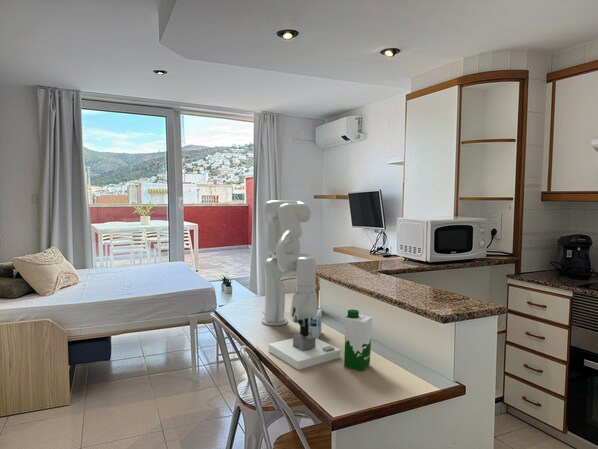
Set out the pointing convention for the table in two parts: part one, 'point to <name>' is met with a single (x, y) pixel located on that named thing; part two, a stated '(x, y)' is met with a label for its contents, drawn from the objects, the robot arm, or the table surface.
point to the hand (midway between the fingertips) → (304, 335)
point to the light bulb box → (316, 325)
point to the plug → (304, 342)
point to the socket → (304, 353)
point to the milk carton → (357, 340)
